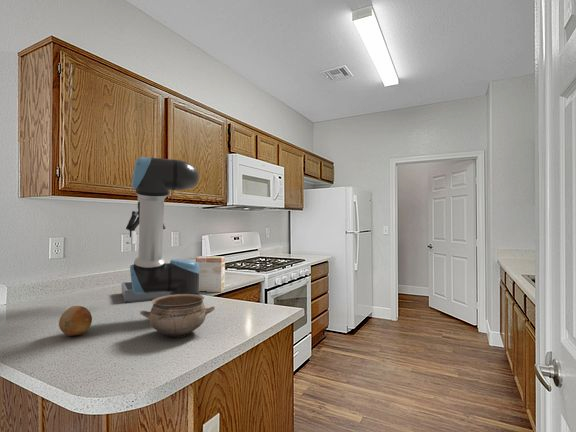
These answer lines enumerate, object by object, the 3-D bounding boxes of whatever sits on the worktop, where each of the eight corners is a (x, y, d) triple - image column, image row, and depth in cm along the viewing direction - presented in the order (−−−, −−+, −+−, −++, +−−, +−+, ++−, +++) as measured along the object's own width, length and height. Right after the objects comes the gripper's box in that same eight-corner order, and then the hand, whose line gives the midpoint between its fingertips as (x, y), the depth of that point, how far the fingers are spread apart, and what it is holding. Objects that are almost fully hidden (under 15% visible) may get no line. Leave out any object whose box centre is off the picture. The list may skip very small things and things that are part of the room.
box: (125, 303, 163) (125, 290, 163) (121, 293, 184) (121, 282, 184) (177, 297, 175) (177, 286, 175) (168, 289, 196) (168, 279, 196)
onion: (53, 341, 111) (54, 310, 111) (64, 332, 121) (65, 303, 121) (86, 339, 114) (87, 309, 114) (95, 329, 123) (95, 302, 123)
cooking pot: (214, 323, 131) (214, 292, 131) (215, 340, 113) (215, 303, 113) (144, 328, 125) (145, 295, 125) (134, 347, 107) (134, 308, 107)
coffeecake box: (224, 290, 196) (225, 256, 196) (221, 292, 189) (221, 257, 189) (199, 289, 197) (200, 255, 198) (195, 291, 190) (195, 257, 191)
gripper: (172, 201, 172) (172, 243, 171) (128, 202, 176) (128, 243, 175) (164, 200, 164) (164, 244, 163) (118, 201, 169) (118, 244, 168)
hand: (145, 243), depth 169 cm, fingers open, 13 cm apart
